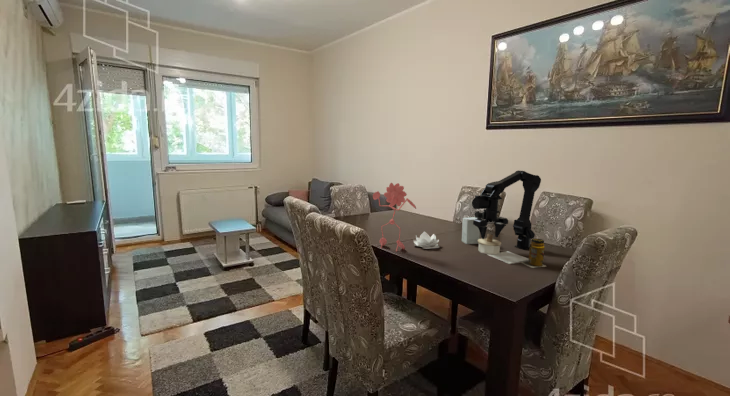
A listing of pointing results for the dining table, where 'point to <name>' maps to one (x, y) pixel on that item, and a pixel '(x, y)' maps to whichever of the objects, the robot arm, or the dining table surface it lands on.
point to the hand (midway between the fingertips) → (489, 237)
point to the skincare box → (470, 231)
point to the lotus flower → (426, 241)
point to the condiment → (536, 254)
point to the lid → (489, 241)
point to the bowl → (488, 249)
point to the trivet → (509, 257)
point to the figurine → (393, 197)
